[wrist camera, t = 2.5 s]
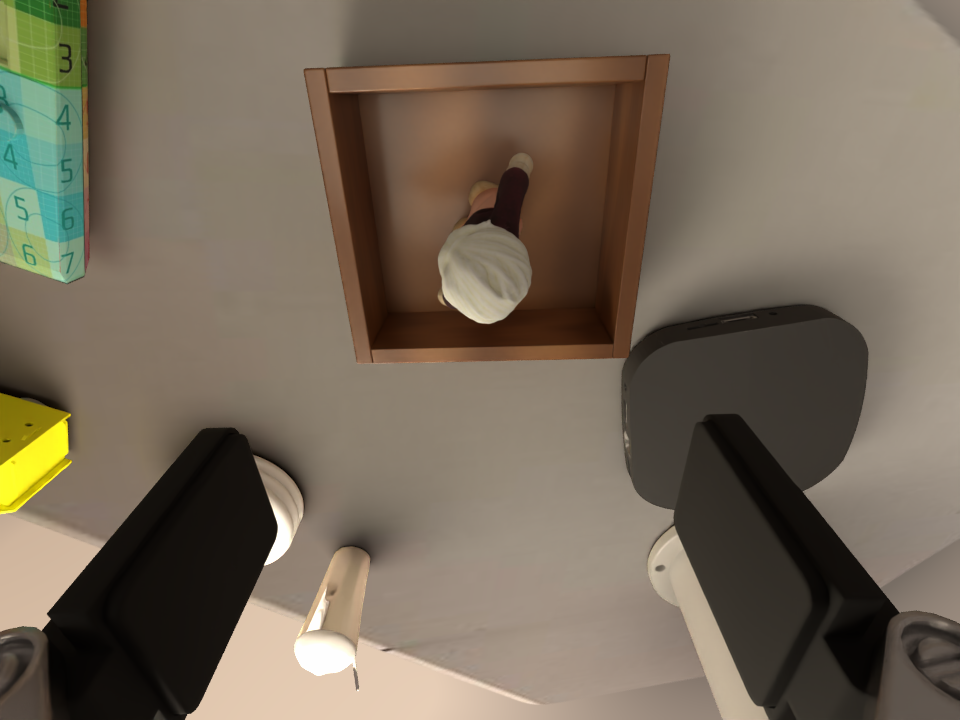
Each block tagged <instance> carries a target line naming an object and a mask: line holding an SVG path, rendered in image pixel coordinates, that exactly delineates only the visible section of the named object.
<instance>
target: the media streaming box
mask: <svg viewBox="0 0 960 720" xmlns="http://www.w3.org/2000/svg"><path fill="white" fill-rule="evenodd" d="M867 370H868V348H867V345H866V342H865V340H864V338H863V336H862V334H861V333H860V332H859V331H858V330H857V329H856V328H855V327H854V326H853V325H851V324H850V323H848V322H846V321H845V320H843V319H842V318H840V317H838V316H837V315H835V314H833V313H832V312H830V311H828V310H826V309H824V308H821V307H817V306H811V305H802V306H793V307H784V308H776V309H768V310H761V311H754V312H747V313H741V314H734V315H729V316H723V317H717V318H711V319H706V320H701V321H696V322H691V323H686V324H681V325H676V326H672V327H667V328H664V329H661V330H659V331H657V332H655V333H653V334H651V335H650V336H648V337H647V338H645V339H644V340H643V341H642V342H640V343H639V344H638V345H637V346H636V347H635V348H634V350H633V351H632V352H631V354H630V355H629V358H627V360H626V362H625V364H624V367H623V370H622V425H623V439H624V449H625V458H626V465H627V469H628V472H629V475H630V477H631V479H632V482H633V485H634V488H635V490H636V491H637V493H638V494H639V495H640V496H641V497H642V498H643V499H645V500H646V501H648V502H650V503H652V504H654V505H656V506H659V507H663V508H667V509H672V510H675V507H676V503H677V499H678V494H679V490H680V486H681V482H682V477H683V473H684V469H685V465H686V460H687V456H688V452H689V448H690V443H691V439H692V435H693V431H694V427H695V424H696V423H697V422H702V421H703V419H704V417H705V416H706V415H708V414H738V415H740V416H741V417H742V418H743V419H744V421H745V422H746V423H747V424H748V426H749V427H750V428H751V429H752V431H753V432H754V433H755V434H756V436H757V437H758V438H759V439H760V441H761V442H762V443H763V444H764V446H765V447H766V448H767V449H768V451H769V452H770V453H771V454H772V456H773V457H774V458H775V459H776V461H777V462H778V463H779V464H780V466H781V467H782V468H783V469H784V471H785V472H786V473H787V474H788V476H789V477H790V478H791V479H792V481H793V482H794V483H795V484H796V485H797V486H798V487H799V488H800V489H801V491H802V492H803V491H805V490H807V489H809V488H810V487H812V486H814V485H815V484H817V483H819V482H820V481H822V480H823V479H824V478H826V477H827V476H828V475H829V474H830V473H832V472H833V471H834V470H835V469H836V468H837V467H838V466H839V464H840V463H841V462H842V461H843V459H844V457H845V455H846V453H847V451H848V449H849V447H850V444H851V442H852V439H853V437H854V434H855V431H856V428H857V425H858V421H859V417H860V414H861V409H862V405H863V400H864V394H865V388H866V380H867Z"/></svg>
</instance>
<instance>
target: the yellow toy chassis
mask: <svg viewBox="0 0 960 720" xmlns="http://www.w3.org/2000/svg"><path fill="white" fill-rule="evenodd" d="M70 416H71V414H70V413H67V412H64V411H60V410H57V409H53V408H50V407H47V406H46V405H44V404H43V403H41V402H39V401H37V400H34V399H31V398H16V397H12V396H9V395H6V394H2V393H0V514H3V513H10V512H15V511H16V510H17V509H18V508H20V507H21V506H22V505H23V504H24V503H25V502H27V501H28V500H29V499H30V498H31V497H32V496H33V495H35V494H36V493H37V492H38V491H39V490H40V489H42V488H43V487H44V486H45V485H46V484H47V483H48V482H50V481H51V480H52V479H53V478H54V477H55V476H57V475H58V474H59V473H60V472H61V471H62V470H63V469H65V468H66V467H67V466H68V465H69V464H70V463H72V460H69V459H65V458H64V457H65V455H66V454H67V453H68V422H67V421H66V419H67V418H68V417H70Z"/></svg>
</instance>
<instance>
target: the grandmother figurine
mask: <svg viewBox="0 0 960 720" xmlns="http://www.w3.org/2000/svg"><path fill="white" fill-rule="evenodd" d="M532 170H533V161H532V159H531V157H530V156H529V155H528V154H525V153H518V154H516V155H514V156H513V157H512V158H511V160H510V163H509V167H508V168H507V170H506V171H505V172H504V173H503V175H502V177H501V180H500V183H499V184H495V183H492V182H488V181H478V182H476V183H475V184H474V185H473V186H472V188H471V190H470V193H469V198H468V199H469V203H470V205H471V210H470V213H469V216H468V217H465V218H462V219H460V220H459V221H458V222H457V223H456V224H455V226H454V228H453V232H452V233H450V235H449V236H448V238H447V240H446V242H445V244H444V245H443V247H442V248H441V250H440V253H439V256H438V266H439V271H440V275H441V277H442V287H441V288H440V290H439V292H438V299H439V301H440V302H441V303H442V304H443V305H446V306H448V307H449V308H451V309H458V310H459V311H460V312H461V313H463V314H464V315H465V316H467V317H468V318H470V319H472V320H474V321H476V322H478V323H486V324H491V323H494V322H496V321H498V320H502V319H504V318H506V317H507V316H508V315H509V313H510V312H512V311H513V310H514V308H515V307H516V306H517V305H518V303H519V302H521V301H522V299H523V298H524V297H525V296H526V295H527V292H528V289H529V287H530V285H531V276H532V269H531V266H530V262H529V257H528V252H527V249H526V247H525V246H524V244H523V243H522V242H521V241H520V240H519V235H520V233H521V230H522V224H523V223H522V219H521V218H520V214H521V208H522V204H523V200H524V197H525V194H526V192H527V190H528V186H529V178H530V174H531V172H532Z"/></svg>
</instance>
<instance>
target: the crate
mask: <svg viewBox="0 0 960 720" xmlns="http://www.w3.org/2000/svg"><path fill="white" fill-rule="evenodd" d="M669 61H670V54H654V55H630V56H605V57H580V58H555V59H530V60H505V61H480V62H455V63H430V64H405V65H380V66H355V67H330V68H305V69H304V76H305V81H306V87H307V92H308V98H309V103H310V109H311V114H312V120H313V125H314V130H315V136H316V141H317V147H318V152H319V158H320V163H321V169H322V174H323V180H324V185H325V190H326V196H327V201H328V207H329V212H330V218H331V223H332V229H333V234H334V240H335V245H336V251H337V256H338V261H339V267H340V272H341V278H342V283H343V289H344V294H345V300H346V305H347V311H348V316H349V321H350V327H351V332H352V338H353V343H354V349H355V354H356V360H357V363H358V364H364V363H374V364H375V363H421V362H467V361H513V360H559V359H604V358H629V351H630V344H631V337H632V330H633V322H634V315H635V308H636V300H637V293H638V286H639V279H640V271H641V264H642V257H643V250H644V242H645V235H646V228H647V221H648V213H649V206H650V199H651V192H652V184H653V177H654V170H655V162H656V155H657V148H658V141H659V133H660V126H661V119H662V112H663V104H664V97H665V90H666V83H667V75H668V68H669ZM518 153H525V154H528V155H529V156H530V157H531V159H532V161H533V170H532V172H531V174H530V178H529V186H528V190H527V192H526V194H525V197H524V200H523V204H522V208H521V214H520V218H521V219H522V223H523V224H522V230H521V233H520V235H519V240H520V241H521V242H522V243H523V244H524V246H525V247H526V249H527V252H528V257H529V262H530V266H531V269H532V276H531V285H530V287H529V289H528V292H527V295H526V296H525V297H524V298H523V299H522V301H521V302H519V303H518V305H517V306H516V307H515V308H514V310H513V311H512V312H510V313H509V315H508V316H507V317H506V318H504V319H502V320H498V321H496V322H494V323H491V324H486V323H478V322H476V321H474V320H472V319H470V318H468V317H467V316H465V315H464V314H463V313H461V312H460V311H459V310H458V309H451V308H449V307H448V306H446V305H443V304H442V303H441V302H440V301H439V299H438V292H439V290H440V288H441V287H442V277H441V275H440V271H439V266H438V256H439V253H440V250H441V248H442V247H443V245H444V244H445V242H446V240H447V238H448V236H449V235H450V233H452V232H453V228H454V226H455V224H456V223H457V222H458V221H459V220H460V219H462V218H465V217H468V216H469V213H470V210H471V205H470V203H469V199H468V198H469V193H470V190H471V188H472V186H473V185H474V184H475V183H476V182H478V181H488V182H492V183H495V184H499V183H500V180H501V177H502V175H503V173H504V172H505V171H506V170H507V168H508V167H509V163H510V160H511V158H512V157H513V156H514V155H516V154H518Z"/></svg>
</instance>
